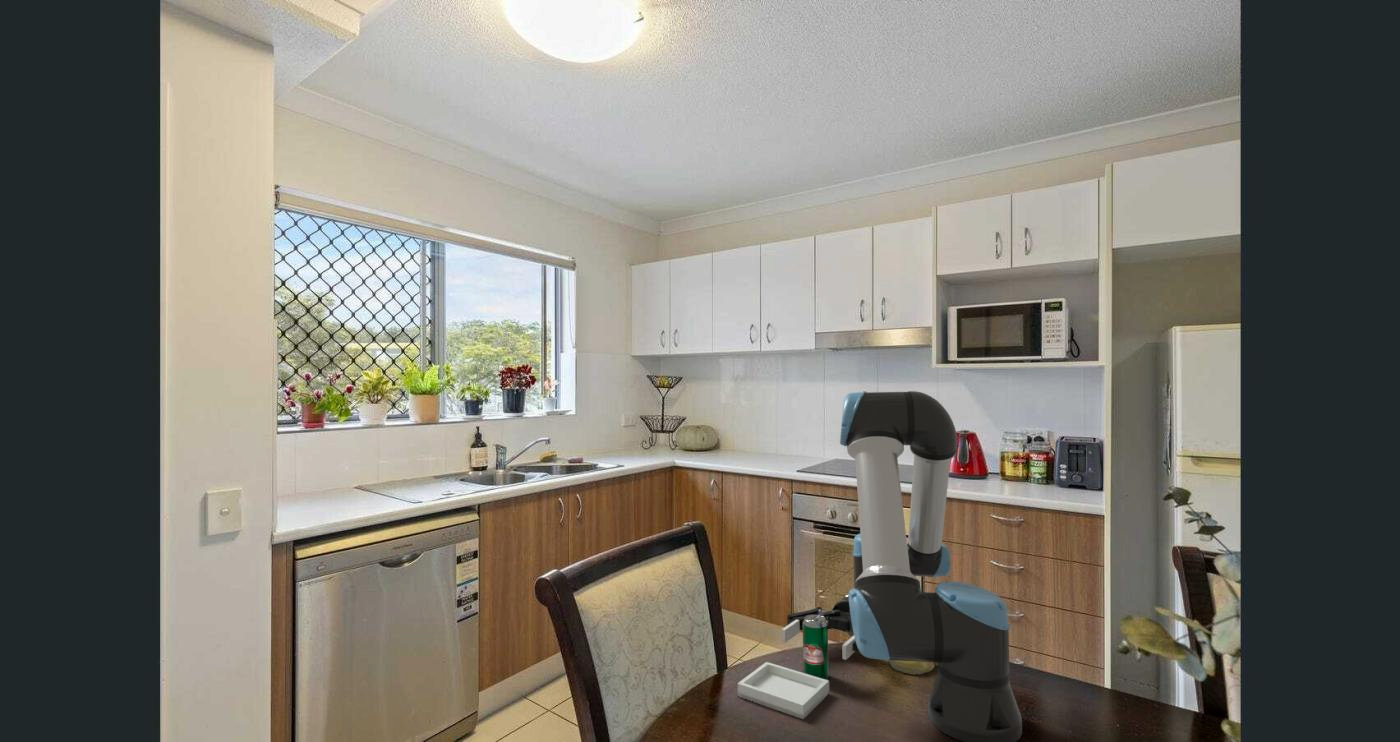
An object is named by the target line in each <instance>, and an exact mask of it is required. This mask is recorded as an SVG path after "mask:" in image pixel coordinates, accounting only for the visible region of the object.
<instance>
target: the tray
mask: <svg viewBox="0 0 1400 742" xmlns="http://www.w3.org/2000/svg"><path fill="white" fill-rule="evenodd" d="M828 694H829V695H830V680H828V679H826V680H825V679H822V678H818V677H815V676H812V675H808V674H805V673H803V672H802V671H799V670H796V669H795V670H794V669H791V668H788V667H785V666H781V665H778V664H774V663H772V662H768V661H766V662H764V663H763V664H762V665H760V666H758V667H757V668H756V669H755V670H754V671H752V672H751V673H750V674H748V675H747V676H746V677H744V678H743V679H741V680H740V681H739V682H738V683H737V697H738V696H739V697H738V698H742V699H744V700H746V699H747V701H749V700H750V701H749V702H752V701H753V702H752V703H756V704H759V705H761V706H765V707H766V708H770V709H773V710H774V711H775V710H776V711H777V712H778V711H779V712H780V713H783V714H787V715H789V716H791V717H792V716H793V717H795V718H798V719H800V720H804V719H805V718H806V717H807V716H808V715H810V713H812V711H814V710H815V708H817V707H818V705H820V703H822V701H824V700H825V697H826V696H827V695H828ZM829 695H828V696H829ZM828 696H827V697H828ZM827 697H826V698H827Z"/></svg>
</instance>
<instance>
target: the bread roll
mask: <svg viewBox="0 0 1400 742" xmlns="http://www.w3.org/2000/svg"><path fill="white" fill-rule="evenodd" d="M888 662H889V665H890V667H891V668H893V669H894V670H895V671H897V672H899V673H903V674H906V673H907V675H915V676H916V674H918V675H922V674H925V673H929V672H931V671H933V669H934V668H935V663H934V662H916V661H900V660H889V661H888Z"/></svg>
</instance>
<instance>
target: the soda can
mask: <svg viewBox="0 0 1400 742" xmlns="http://www.w3.org/2000/svg"><path fill="white" fill-rule="evenodd" d="M802 656H803V657H802V659H803V660H802V662H803V664H802V665H803V667H802V669H803V672H802V673H805V674H808V675H812V676H815V677H818V678H822V679H825V680H828V678H829V676H830V675H829V672H830V671H829V629H828V622H827V620H826V619H825V617H823V616H820V615H807V616H805V618H804V621H803V630H802Z"/></svg>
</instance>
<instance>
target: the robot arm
mask: <svg viewBox="0 0 1400 742" xmlns="http://www.w3.org/2000/svg"><path fill="white" fill-rule="evenodd" d="M841 415H842V417H841V427H840V435H839V437H840V438H839V445H841V446H843V447H846V448H847V449H846V451H847V453H848V455H849V456H850V457H851V458H852V459H853V460H854V461H855V472H856V473H855V475H856V476H855V477H856V487H857V504H858V517H859V529H860V530H859V531H860V533H857V534H856V535H854V539H853V552H852V555H853V588H852V589H850V590H849V591H848V594H846V595H845V596H844V597H842V598H841V599H840V600H838V601H837V602H836V603H835V604H834V606H833V608H832V610H828V611H823V607H821V606H818V607H815V608H813V609H808V610H805V611H804V610H803V611H800V612H796V613H791V614H787V615H786V617H787V619H786V624H785V627H783V628H781V643H784V644H786V643H787V642H789V641H790V640H791V639H793V638H795V637H796V636H797V635H798V634H800V633H801V631H803V621H804V618H805V616H807V615H820V616H823V617H825V619H826V622H827V624H828V630H833V629H834V630H838V631H842V632H845V633H847V634H848V635H849V636H850V638H849V639H848V640H846V641H845V642H844V643H843V644H842V645H841V650H842V660H844V661H846V660H848V659H849V658H850V657H851V656H852V655H853V654H854V653H855V652H859V653H860V654H861V655H862V656H863V657H865V658H866V659H872V660H873V659H874V660H881V661H882V660H883V661H885V662H889V660H900V661H916V662H934V664H935V663H936V664H937V673H936V676H935V680H934V682H933V685H932V688H931V691H930V694H929V698H928V701H927V714H928V715H927V716H928V719H929V720H930V722H931V723H932V725H933V726H935V728H937V730H939V731H940V732H942V733H944V734H945V735H947V736H949V737H951V738H952V739H955V740H958V741H961V742H1017V741H1019V740H1020V738H1021V737H1022V735H1023V720H1022V715H1021V711H1020V709H1019V707H1018V704H1017V700H1016V697H1015V695H1014V692H1013V689H1012V686H1011V683H1010V682H1011V681H1010V680H1011V679H1010V645H1009V644H1010V643H1009V642H1010V639H1009V637H1010V636H1009V634H1010V633H1009V630H1010V624H1009V623H1010V622H1009V613H1008V608H1007V607H1008V606H1007V604H1006V602H1005V601H1004V600H1003V598H1001V597H1000V596H999V595H997V594H996V593H994V592H993V591H990V590H988V589H986V588H983V587H980V586H977V585H974V584H970V583H966V582H960V581H952V580H951V581H944V582H943V581H941V582H938V583H937V584H936V587H935V588H934V592H929V591H928V592H926V591H925V592H924V591H922V589H921V581H920V579H919V578H918V577H924V578H925V577H926V578H938V577H939V578H941V577H947V576H948V575H949V574H950V572H951V556H950V550H949V548H948V546H947V545H946V544H942V542H943V533H944V524H945V515H946V514H945V513H946V506H947V505H946V504H947V497H948V494H947V493H948V485H949V476H950V468H951V460H952V459H954V458H955V456H956V454H957V448H958V447H957V446H958V435H957V431H956V427H955V424H954V421H953V419H952V417H951V415H950V414H949V412H948V411H947V409H946V408H945V407H944V406H943V404H941V403H940V401H938V400H937V399H935V397H932V396H931V395H928V394H927V393H925V392H921V391H916V390H914V391H913V390H912V391H911V390H910V391H872V392H871V391H869V392H867V391H865V390H864V391H861V392H860V391H859V392H849V393H847V394H846V395H845V396H844V398H843V405H842V414H841ZM905 446H909V450H910V452H911V453H912V454H913V467H912V468H913V469H912V483H911V494H910V495H911V496H910V508H909V509H910V511H909V523H908V537H907V533H906V532H907V531H906V523H905V516H904V515H905V514H904V505H903V496H902V495H903V493H902V485H901V478H900V477H901V476H900V467H899V459H898V458H899V457H900V456H901V455H902V454H903V453H904V452H905ZM907 538H908V539H907Z"/></svg>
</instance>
